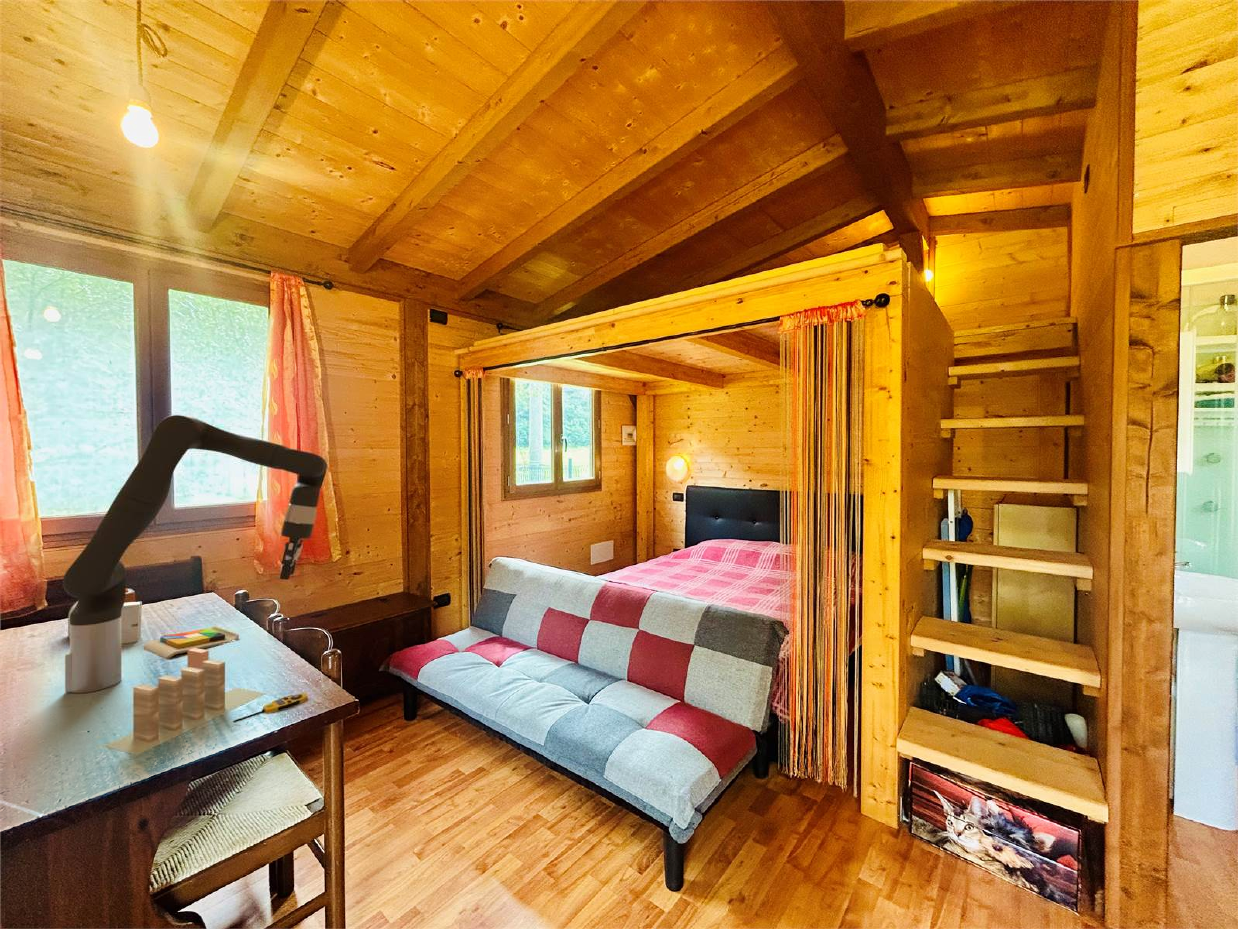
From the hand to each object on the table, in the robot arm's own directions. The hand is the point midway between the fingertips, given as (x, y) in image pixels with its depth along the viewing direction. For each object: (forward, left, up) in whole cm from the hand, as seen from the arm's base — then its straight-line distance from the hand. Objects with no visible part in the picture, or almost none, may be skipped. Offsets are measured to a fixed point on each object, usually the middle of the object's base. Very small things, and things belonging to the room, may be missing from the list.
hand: (286, 576), depth 142 cm
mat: (-12, -26, -26) cm, 39 cm away
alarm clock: (-65, +48, -26) cm, 84 cm away
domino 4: (-12, -26, -25) cm, 38 cm away
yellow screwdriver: (+4, -28, -26) cm, 39 cm away
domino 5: (-9, -23, -25) cm, 35 cm away
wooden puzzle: (-33, +28, -27) cm, 50 cm away
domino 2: (-14, -30, -25) cm, 42 cm away
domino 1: (-17, -34, -25) cm, 46 cm away
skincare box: (-53, +36, -26) cm, 69 cm away
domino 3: (-16, -12, -26) cm, 33 cm away
